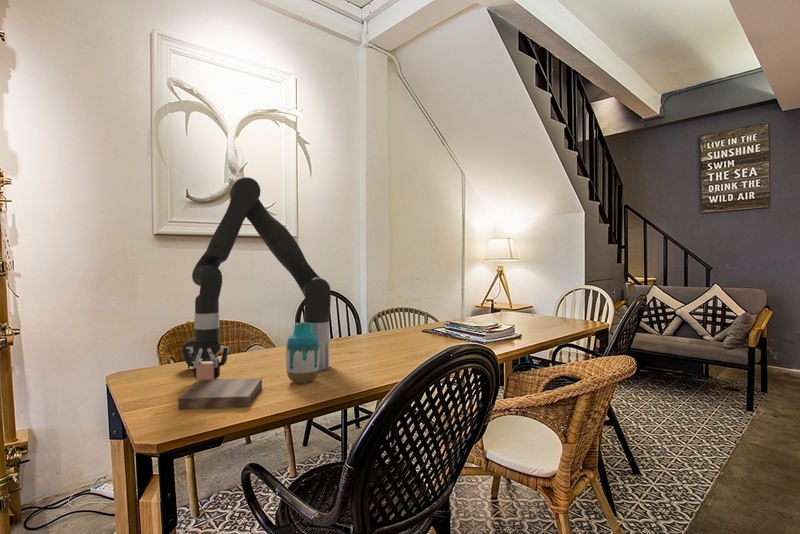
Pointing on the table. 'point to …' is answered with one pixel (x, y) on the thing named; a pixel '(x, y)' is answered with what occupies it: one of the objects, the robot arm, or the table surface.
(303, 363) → the vase
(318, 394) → the table surface
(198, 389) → the walnut base
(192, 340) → the alarm clock
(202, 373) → the pink block
